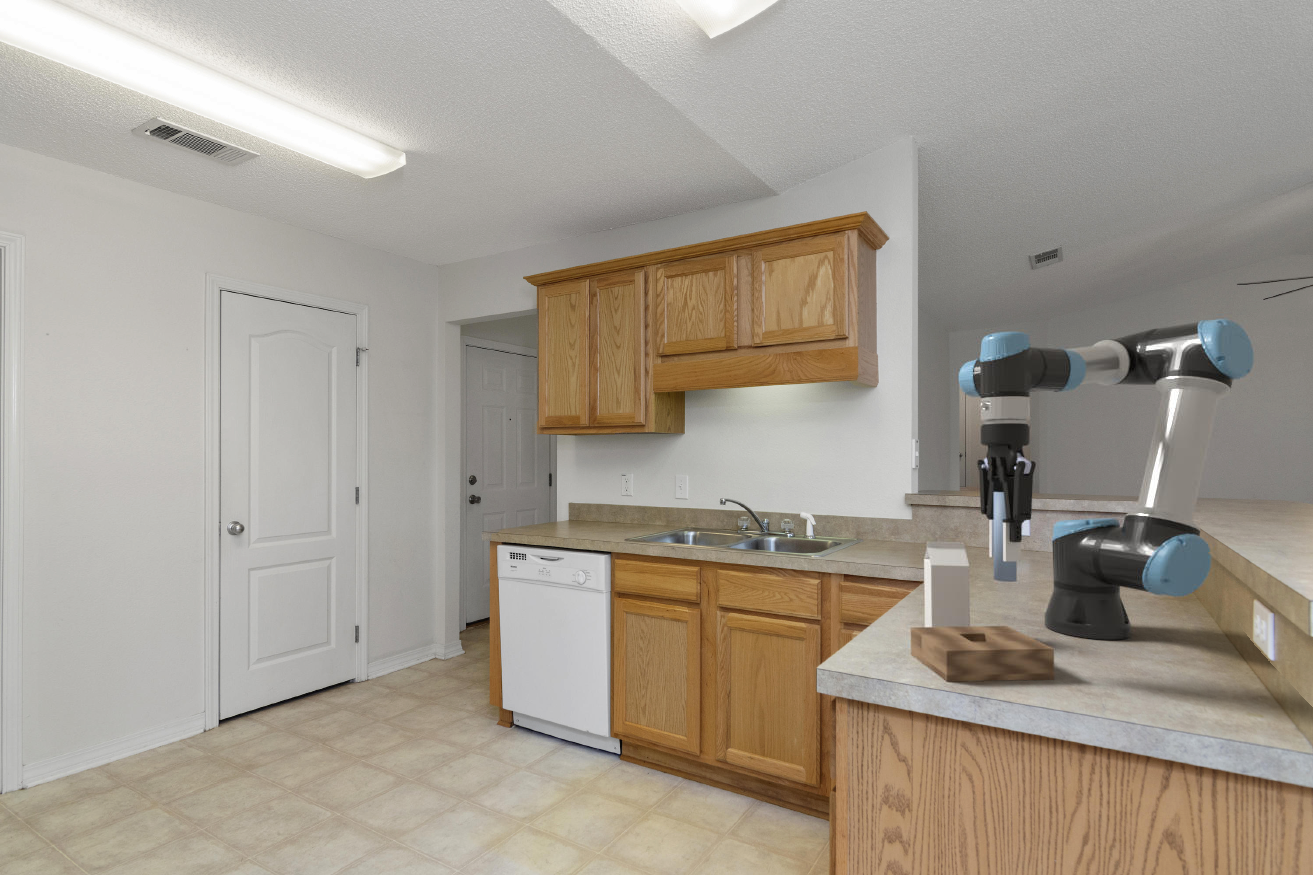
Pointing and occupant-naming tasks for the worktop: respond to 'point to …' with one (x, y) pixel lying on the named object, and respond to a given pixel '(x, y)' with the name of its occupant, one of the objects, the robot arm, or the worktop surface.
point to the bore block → (982, 653)
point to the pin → (1001, 543)
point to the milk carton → (946, 585)
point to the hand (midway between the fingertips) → (1004, 558)
